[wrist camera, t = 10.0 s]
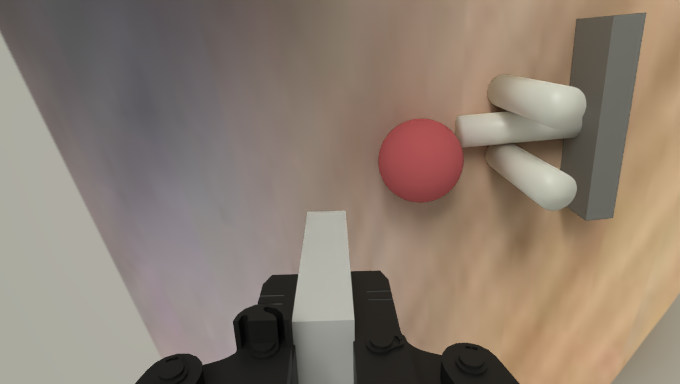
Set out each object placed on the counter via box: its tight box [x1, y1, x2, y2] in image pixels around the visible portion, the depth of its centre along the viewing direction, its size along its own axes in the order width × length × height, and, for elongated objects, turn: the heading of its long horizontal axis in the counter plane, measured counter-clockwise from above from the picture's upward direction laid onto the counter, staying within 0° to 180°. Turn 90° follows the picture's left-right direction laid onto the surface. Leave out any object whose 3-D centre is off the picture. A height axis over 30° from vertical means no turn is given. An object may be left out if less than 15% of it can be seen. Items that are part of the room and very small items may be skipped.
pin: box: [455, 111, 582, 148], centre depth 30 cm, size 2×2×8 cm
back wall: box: [561, 13, 646, 221], centre depth 29 cm, size 14×2×4 cm, turn 6°
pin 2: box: [486, 143, 577, 211], centre depth 28 cm, size 2×2×8 cm
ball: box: [378, 119, 464, 202], centre depth 29 cm, size 6×6×6 cm
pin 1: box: [487, 74, 586, 130], centre depth 26 cm, size 2×2×8 cm
